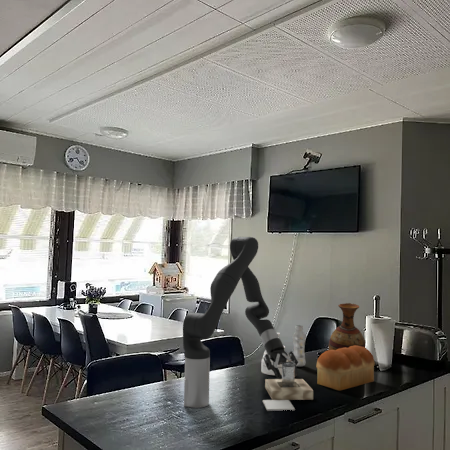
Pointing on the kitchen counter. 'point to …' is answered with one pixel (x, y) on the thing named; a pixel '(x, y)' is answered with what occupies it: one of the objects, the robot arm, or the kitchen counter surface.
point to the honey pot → (264, 367)
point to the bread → (345, 367)
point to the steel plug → (288, 374)
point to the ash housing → (288, 390)
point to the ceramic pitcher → (346, 330)
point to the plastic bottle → (299, 345)
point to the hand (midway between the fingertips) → (288, 376)
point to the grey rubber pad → (278, 405)
